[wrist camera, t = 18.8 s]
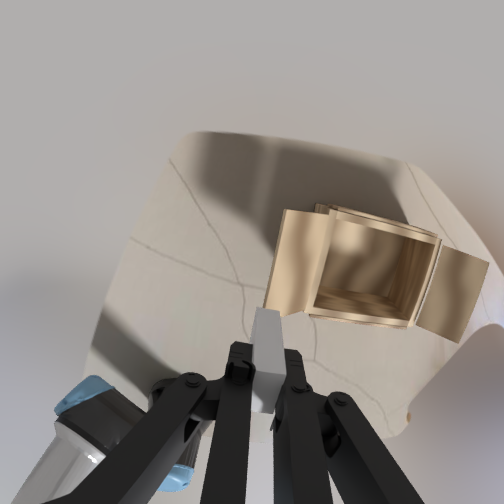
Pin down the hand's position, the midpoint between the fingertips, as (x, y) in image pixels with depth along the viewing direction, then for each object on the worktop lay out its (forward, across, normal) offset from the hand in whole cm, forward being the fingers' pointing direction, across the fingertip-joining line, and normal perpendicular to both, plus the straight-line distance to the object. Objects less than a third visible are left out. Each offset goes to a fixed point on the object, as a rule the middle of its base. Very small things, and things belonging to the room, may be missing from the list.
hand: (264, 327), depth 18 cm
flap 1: (+14, +4, +1) cm, 15 cm away
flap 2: (+14, +28, 0) cm, 31 cm away
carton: (+27, +16, 0) cm, 32 cm away
